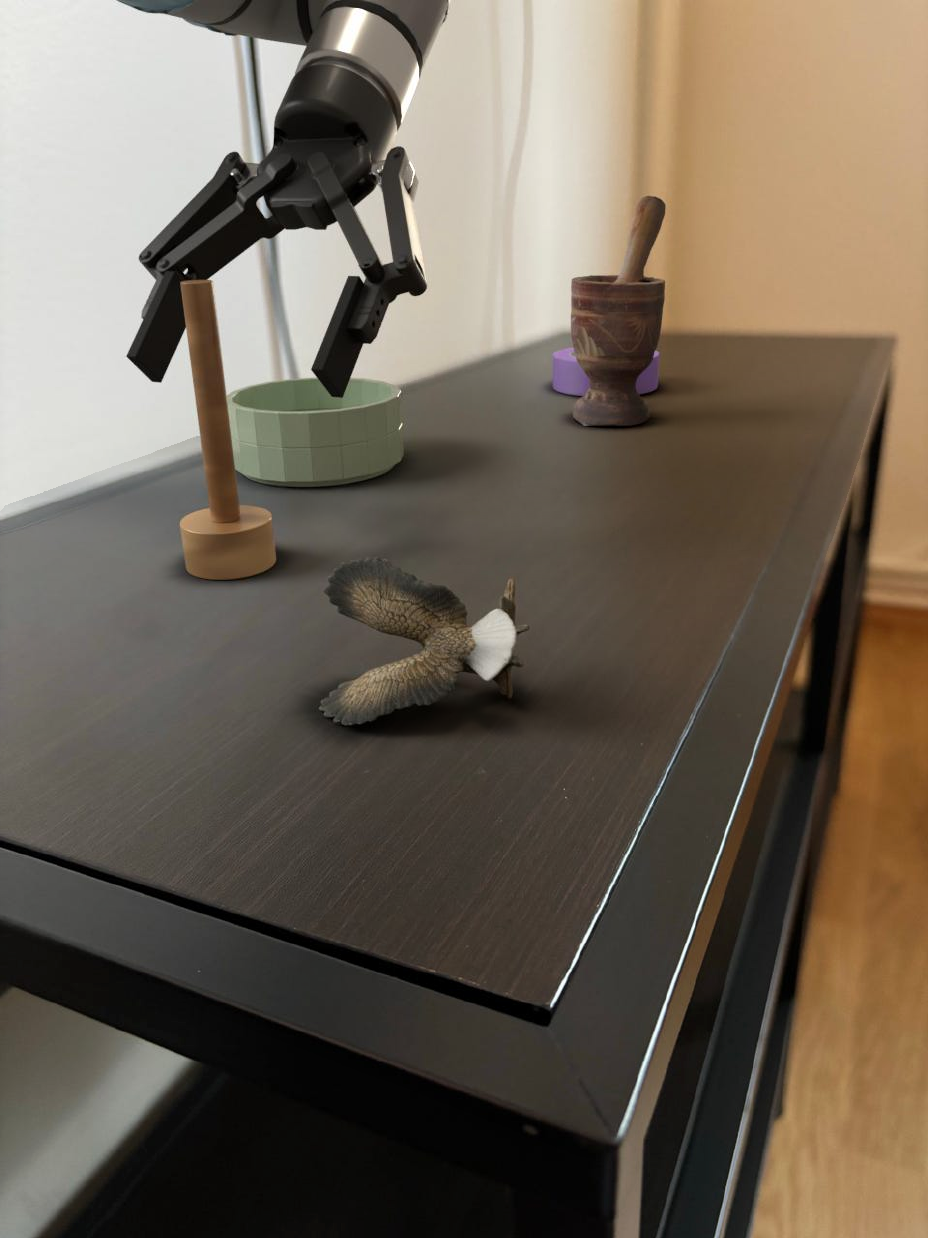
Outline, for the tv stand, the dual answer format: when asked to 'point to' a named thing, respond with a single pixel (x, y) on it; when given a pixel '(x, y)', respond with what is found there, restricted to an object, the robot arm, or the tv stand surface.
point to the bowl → (315, 432)
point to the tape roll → (576, 381)
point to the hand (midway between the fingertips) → (231, 377)
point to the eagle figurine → (427, 619)
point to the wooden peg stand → (218, 461)
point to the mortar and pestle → (619, 327)
